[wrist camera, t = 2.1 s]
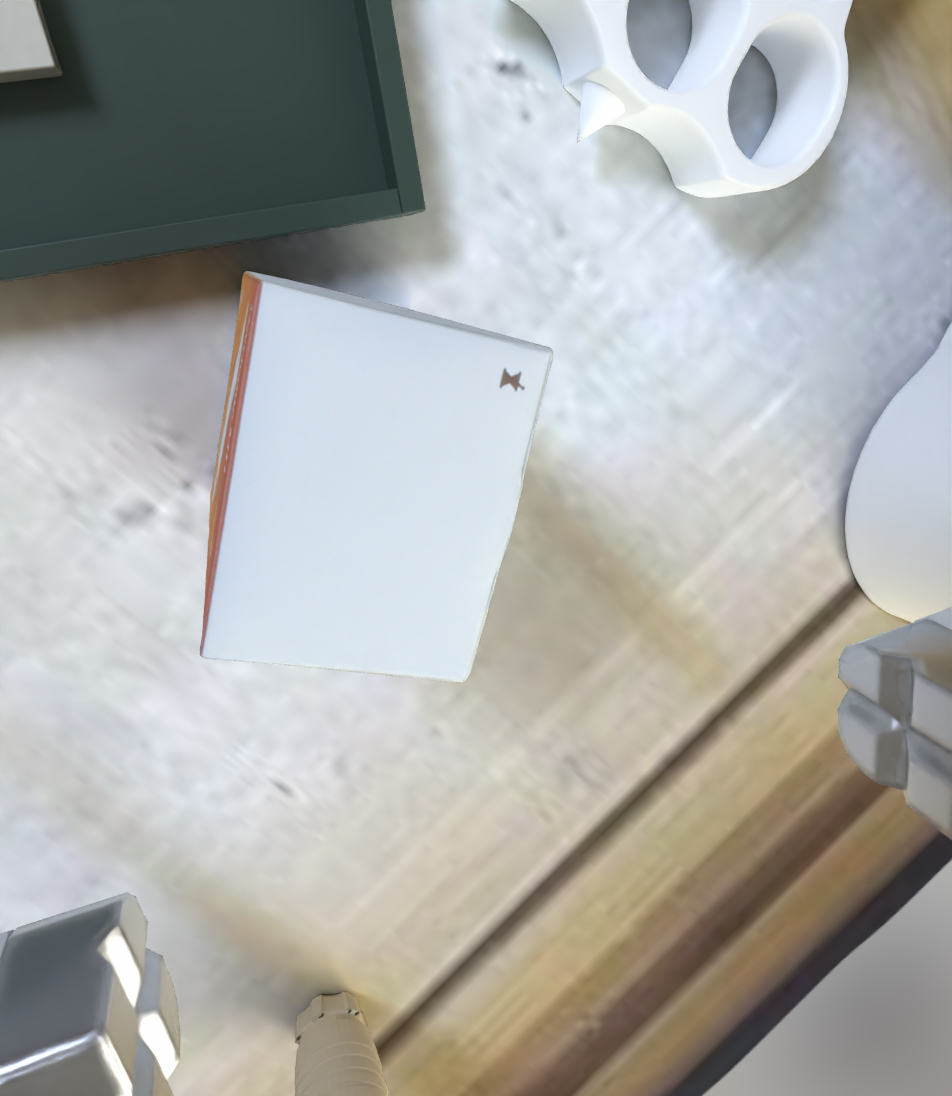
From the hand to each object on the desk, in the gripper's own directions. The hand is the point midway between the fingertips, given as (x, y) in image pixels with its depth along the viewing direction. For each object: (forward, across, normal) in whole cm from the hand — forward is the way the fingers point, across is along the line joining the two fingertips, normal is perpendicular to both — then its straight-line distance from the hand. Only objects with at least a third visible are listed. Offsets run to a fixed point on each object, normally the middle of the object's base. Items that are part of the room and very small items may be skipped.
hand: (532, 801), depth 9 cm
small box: (+22, 0, -1) cm, 22 cm away
